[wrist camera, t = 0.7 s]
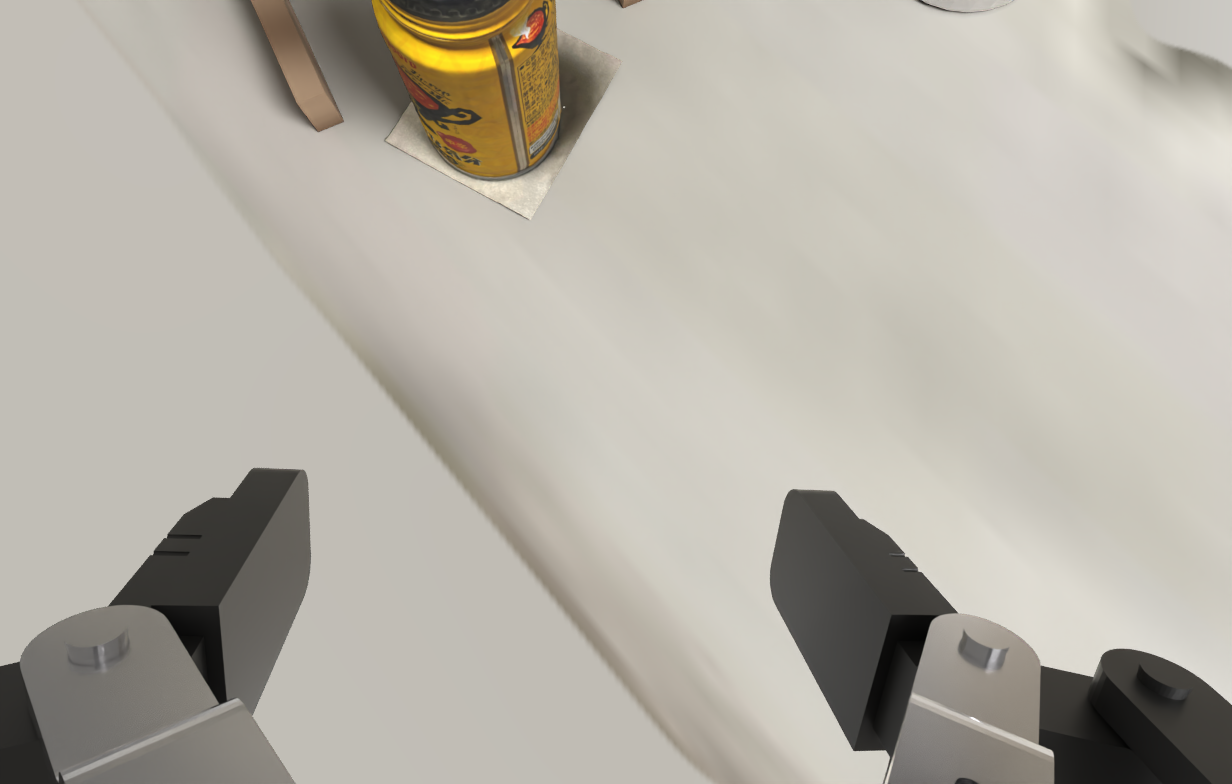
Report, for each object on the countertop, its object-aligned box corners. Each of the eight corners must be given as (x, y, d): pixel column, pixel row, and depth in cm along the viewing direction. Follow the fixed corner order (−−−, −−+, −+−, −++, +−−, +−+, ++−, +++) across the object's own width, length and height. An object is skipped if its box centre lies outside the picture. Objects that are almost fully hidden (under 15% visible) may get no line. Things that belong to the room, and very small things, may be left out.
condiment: (386, 143, 33) (276, -47, 21) (481, -12, 34) (430, -277, 22) (530, 222, 33) (505, 77, 21) (622, 65, 34) (647, -159, 22)
